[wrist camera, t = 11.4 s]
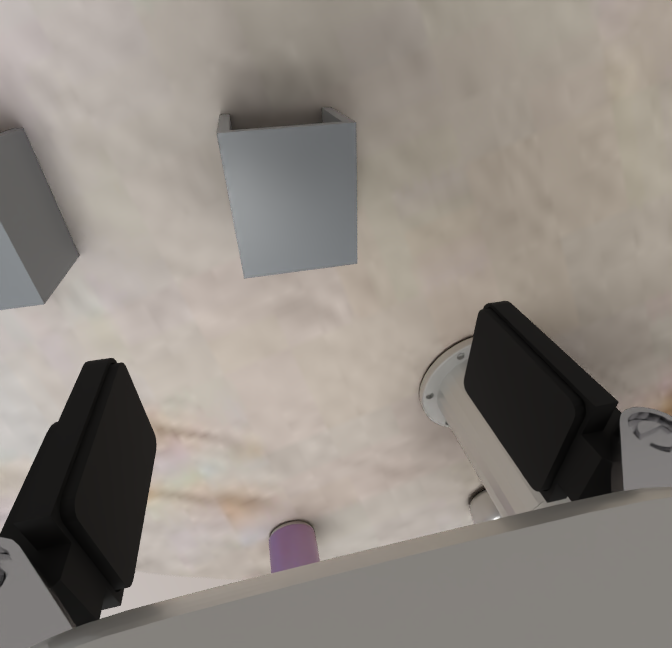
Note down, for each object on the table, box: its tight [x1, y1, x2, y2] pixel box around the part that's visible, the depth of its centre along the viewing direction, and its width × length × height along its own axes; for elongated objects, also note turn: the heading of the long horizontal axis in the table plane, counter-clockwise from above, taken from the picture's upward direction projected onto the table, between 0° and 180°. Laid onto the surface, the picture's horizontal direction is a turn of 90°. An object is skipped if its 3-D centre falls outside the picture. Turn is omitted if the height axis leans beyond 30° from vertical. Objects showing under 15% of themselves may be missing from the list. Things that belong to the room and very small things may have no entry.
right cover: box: [217, 107, 357, 278], centre depth 25 cm, size 7×8×6 cm
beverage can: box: [269, 521, 320, 573], centre depth 47 cm, size 6×6×15 cm
